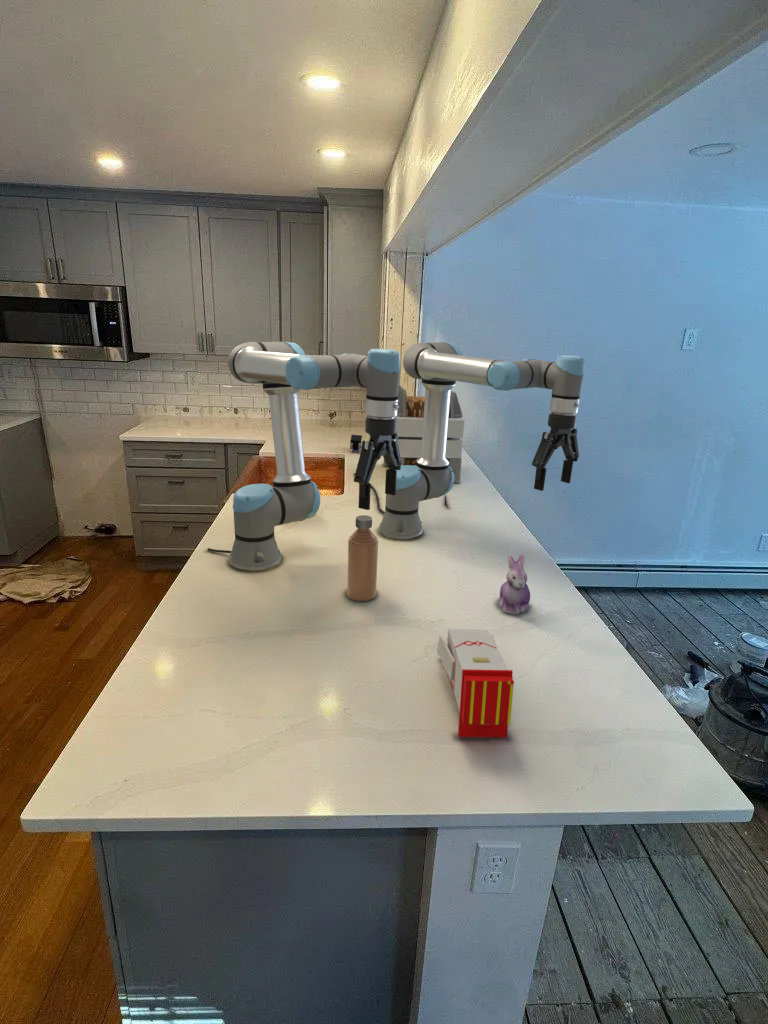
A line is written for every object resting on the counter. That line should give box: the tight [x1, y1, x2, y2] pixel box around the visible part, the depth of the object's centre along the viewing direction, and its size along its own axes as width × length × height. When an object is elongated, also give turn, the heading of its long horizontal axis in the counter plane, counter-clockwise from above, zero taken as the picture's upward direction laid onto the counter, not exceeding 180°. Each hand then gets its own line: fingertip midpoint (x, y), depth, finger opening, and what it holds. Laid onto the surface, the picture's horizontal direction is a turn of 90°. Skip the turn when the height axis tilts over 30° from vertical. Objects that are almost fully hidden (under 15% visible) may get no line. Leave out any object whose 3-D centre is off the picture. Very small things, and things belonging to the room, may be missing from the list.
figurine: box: [498, 553, 531, 615], centre depth 151 cm, size 9×10×15 cm
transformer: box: [383, 384, 465, 484], centre depth 268 cm, size 34×33×41 cm
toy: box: [437, 628, 515, 738], centre depth 117 cm, size 12×13×30 cm
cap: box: [355, 514, 373, 529], centre depth 150 cm, size 4×4×2 cm
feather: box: [444, 494, 449, 509], centre depth 240 cm, size 2×28×2 cm
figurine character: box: [349, 434, 363, 453], centre depth 311 cm, size 7×8×15 cm
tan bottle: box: [346, 528, 379, 602], centre depth 153 cm, size 8×8×22 cm
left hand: (377, 501), depth 142 cm, fingers open, 13 cm apart
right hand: (552, 485), depth 166 cm, fingers open, 13 cm apart
